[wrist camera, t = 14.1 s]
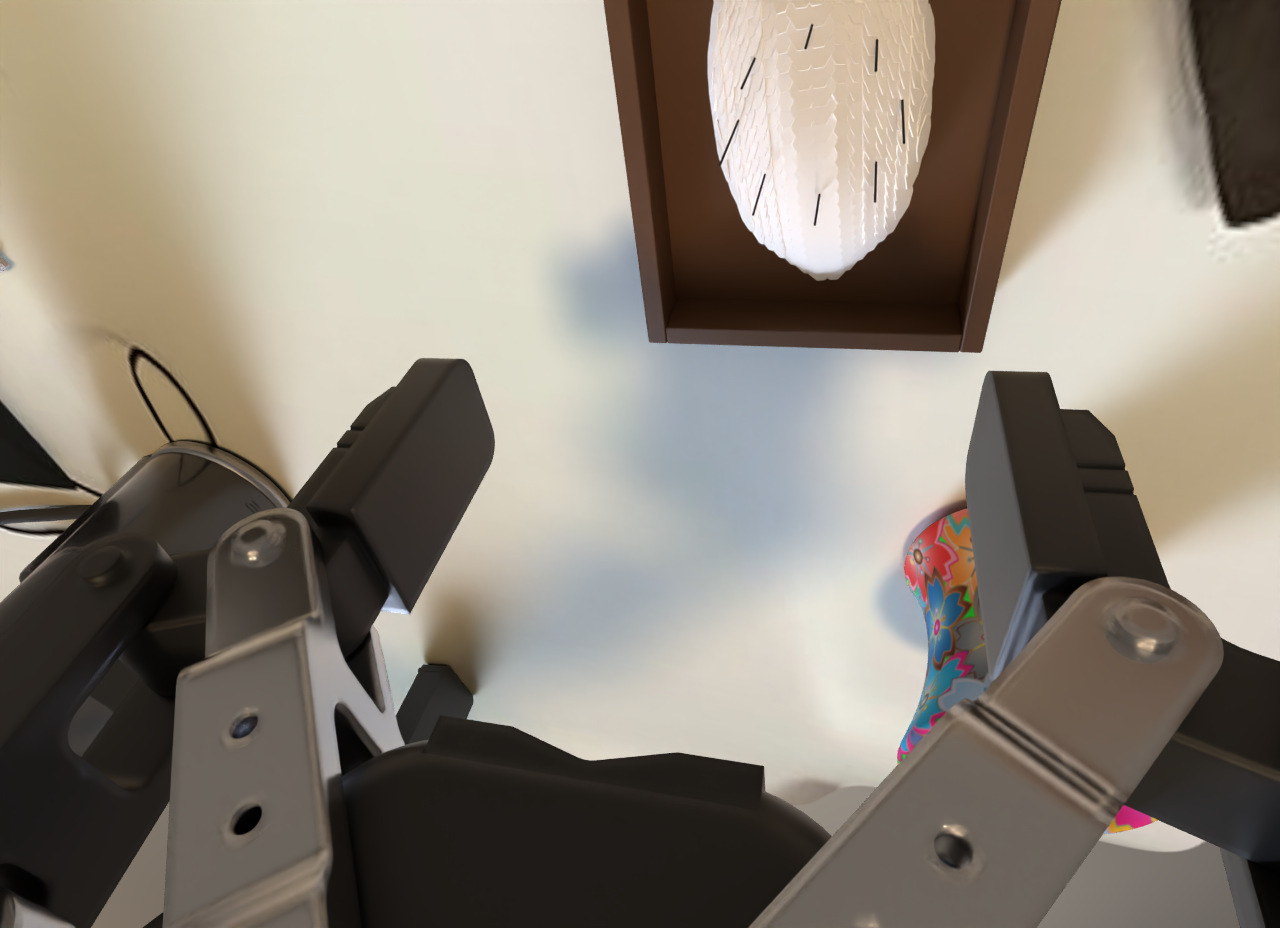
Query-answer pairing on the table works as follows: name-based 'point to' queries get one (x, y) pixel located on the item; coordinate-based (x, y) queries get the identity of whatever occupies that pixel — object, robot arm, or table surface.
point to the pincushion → (821, 120)
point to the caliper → (3, 265)
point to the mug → (957, 633)
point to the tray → (898, 266)
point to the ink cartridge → (432, 702)
